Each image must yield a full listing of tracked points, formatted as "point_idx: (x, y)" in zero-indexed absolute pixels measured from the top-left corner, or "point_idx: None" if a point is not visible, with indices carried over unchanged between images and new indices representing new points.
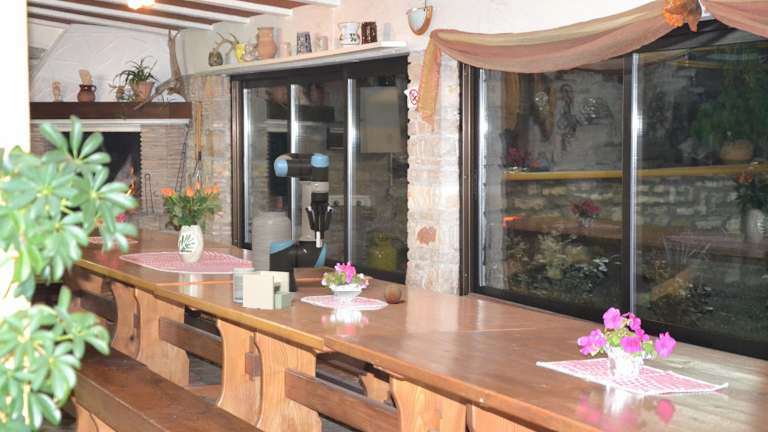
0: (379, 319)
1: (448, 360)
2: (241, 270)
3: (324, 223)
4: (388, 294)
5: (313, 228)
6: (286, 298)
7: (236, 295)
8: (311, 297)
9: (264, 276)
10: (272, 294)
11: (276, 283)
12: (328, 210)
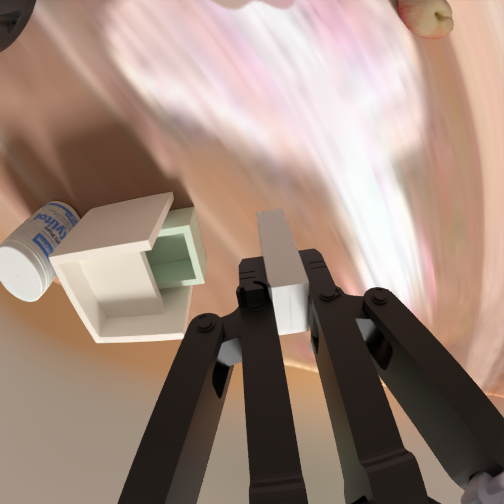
0: (449, 254)
1: (489, 369)
2: (36, 299)
3: (368, 360)
4: (428, 37)
5: (231, 358)
6: (198, 248)
7: None
8: (132, 28)
9: (158, 338)
10: (190, 300)
11: (144, 262)
12: (472, 500)
